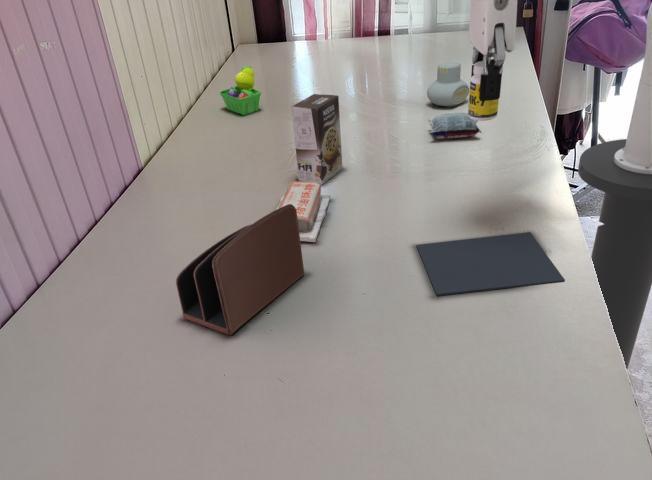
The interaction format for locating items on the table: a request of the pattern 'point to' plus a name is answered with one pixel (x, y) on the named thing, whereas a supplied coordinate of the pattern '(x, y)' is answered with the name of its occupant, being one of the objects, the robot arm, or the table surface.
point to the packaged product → (306, 207)
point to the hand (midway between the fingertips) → (484, 93)
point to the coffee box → (317, 137)
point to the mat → (487, 264)
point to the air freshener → (448, 85)
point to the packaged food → (453, 126)
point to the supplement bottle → (476, 107)
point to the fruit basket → (242, 93)
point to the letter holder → (242, 272)
